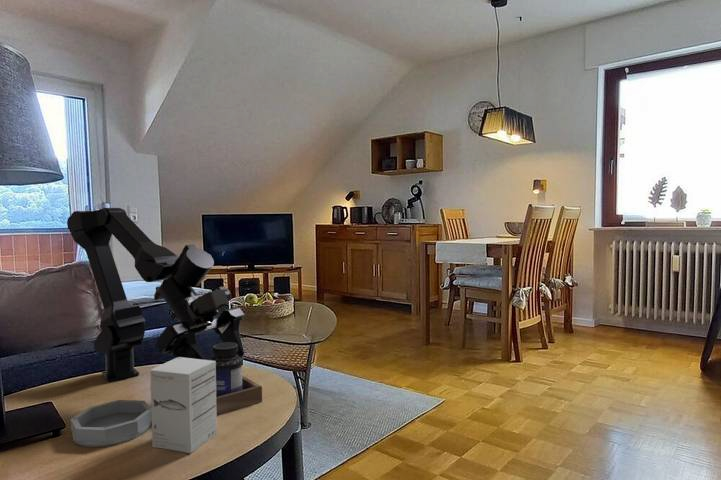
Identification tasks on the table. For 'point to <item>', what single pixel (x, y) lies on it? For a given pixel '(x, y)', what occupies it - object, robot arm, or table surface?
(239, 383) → the pill bottle
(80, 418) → the tray
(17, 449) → the table surface
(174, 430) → the supplement box
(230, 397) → the holder
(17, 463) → the table surface
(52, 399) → the table surface
